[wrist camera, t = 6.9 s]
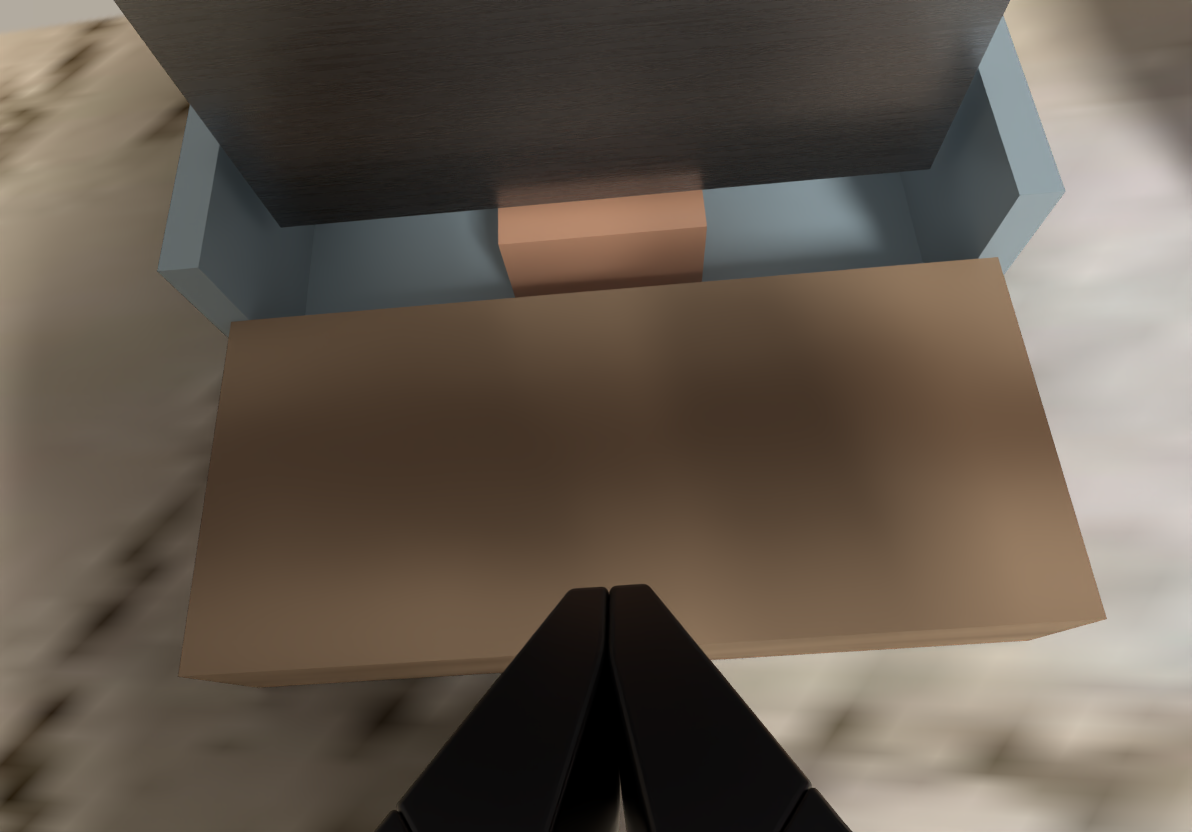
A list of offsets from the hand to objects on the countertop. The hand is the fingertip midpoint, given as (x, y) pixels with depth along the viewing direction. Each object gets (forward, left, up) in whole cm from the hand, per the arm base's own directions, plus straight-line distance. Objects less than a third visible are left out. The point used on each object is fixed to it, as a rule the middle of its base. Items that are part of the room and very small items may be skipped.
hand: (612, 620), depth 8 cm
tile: (+5, +10, -8) cm, 14 cm away
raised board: (+2, +4, -8) cm, 9 cm away
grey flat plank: (+4, +9, -5) cm, 11 cm away
